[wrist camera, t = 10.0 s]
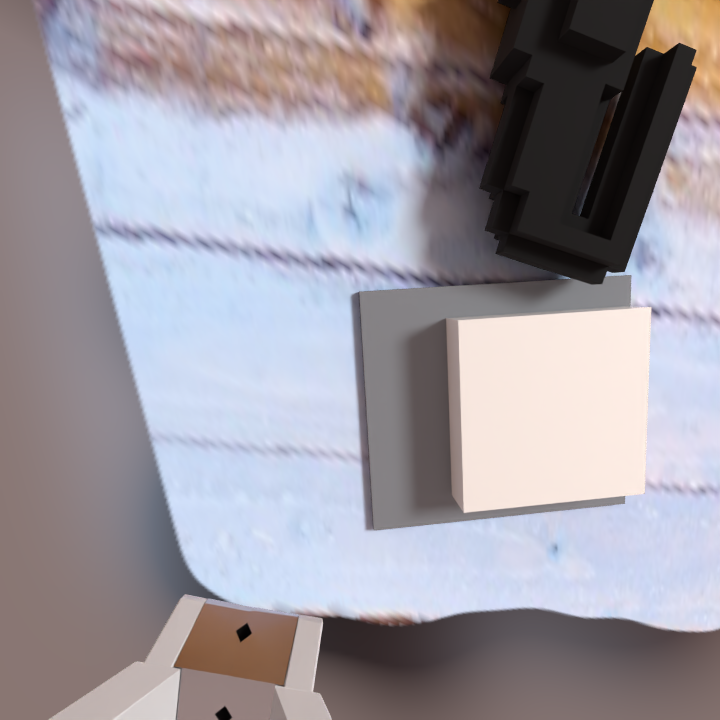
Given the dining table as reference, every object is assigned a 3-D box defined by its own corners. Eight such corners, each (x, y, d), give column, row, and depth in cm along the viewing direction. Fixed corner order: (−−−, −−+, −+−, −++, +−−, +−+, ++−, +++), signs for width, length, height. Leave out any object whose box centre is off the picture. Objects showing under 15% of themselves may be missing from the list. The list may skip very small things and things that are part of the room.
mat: (373, 527, 30) (374, 530, 30) (358, 291, 28) (359, 291, 27) (621, 500, 32) (624, 503, 31) (627, 275, 29) (631, 275, 29)
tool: (384, 202, 22) (644, 288, 24) (512, -244, 20) (788, -111, 22) (371, 221, 27) (585, 290, 29) (472, -130, 25) (696, -31, 27)
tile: (463, 512, 27) (644, 493, 28) (458, 320, 26) (651, 307, 27) (451, 494, 30) (618, 477, 31) (445, 318, 28) (622, 306, 29)
